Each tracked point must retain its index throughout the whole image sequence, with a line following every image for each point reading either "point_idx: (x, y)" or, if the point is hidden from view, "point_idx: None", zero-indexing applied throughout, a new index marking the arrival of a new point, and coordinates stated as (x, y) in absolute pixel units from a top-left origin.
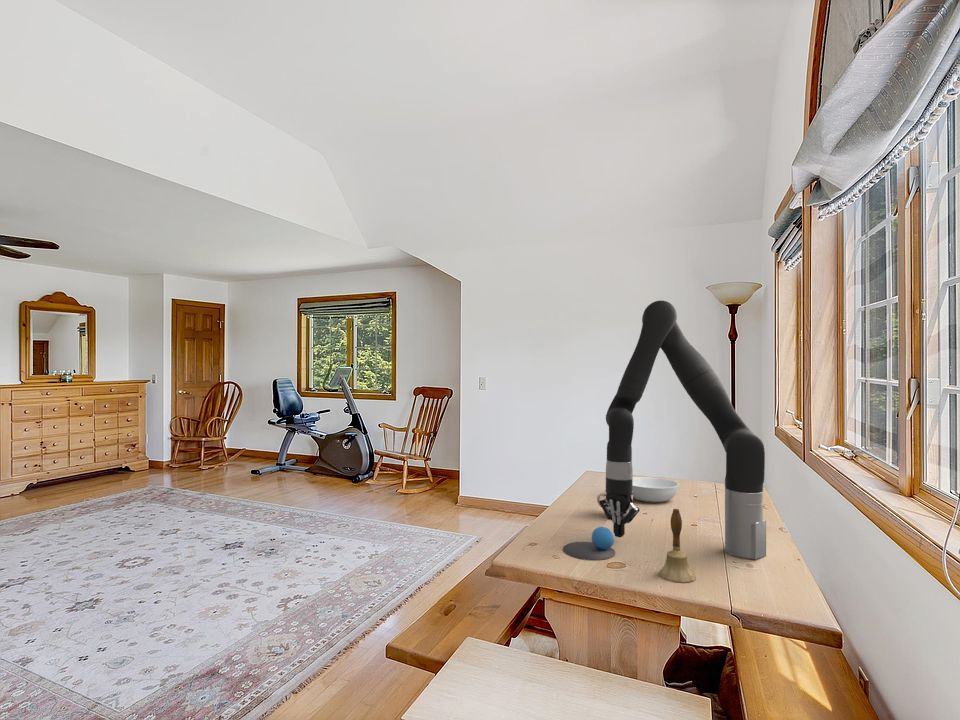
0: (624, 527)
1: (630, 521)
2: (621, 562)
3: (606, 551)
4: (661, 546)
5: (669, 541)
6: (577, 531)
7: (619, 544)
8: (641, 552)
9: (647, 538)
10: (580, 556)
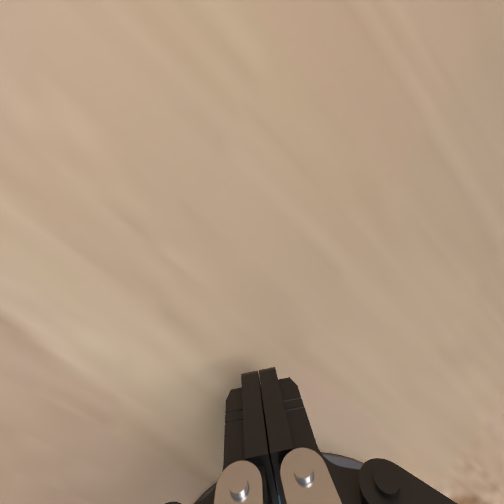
0: (310, 426)
1: (412, 483)
2: (456, 499)
3: None
4: (443, 195)
5: (417, 53)
6: (6, 459)
7: None
8: (435, 363)
9: (293, 156)
10: None
